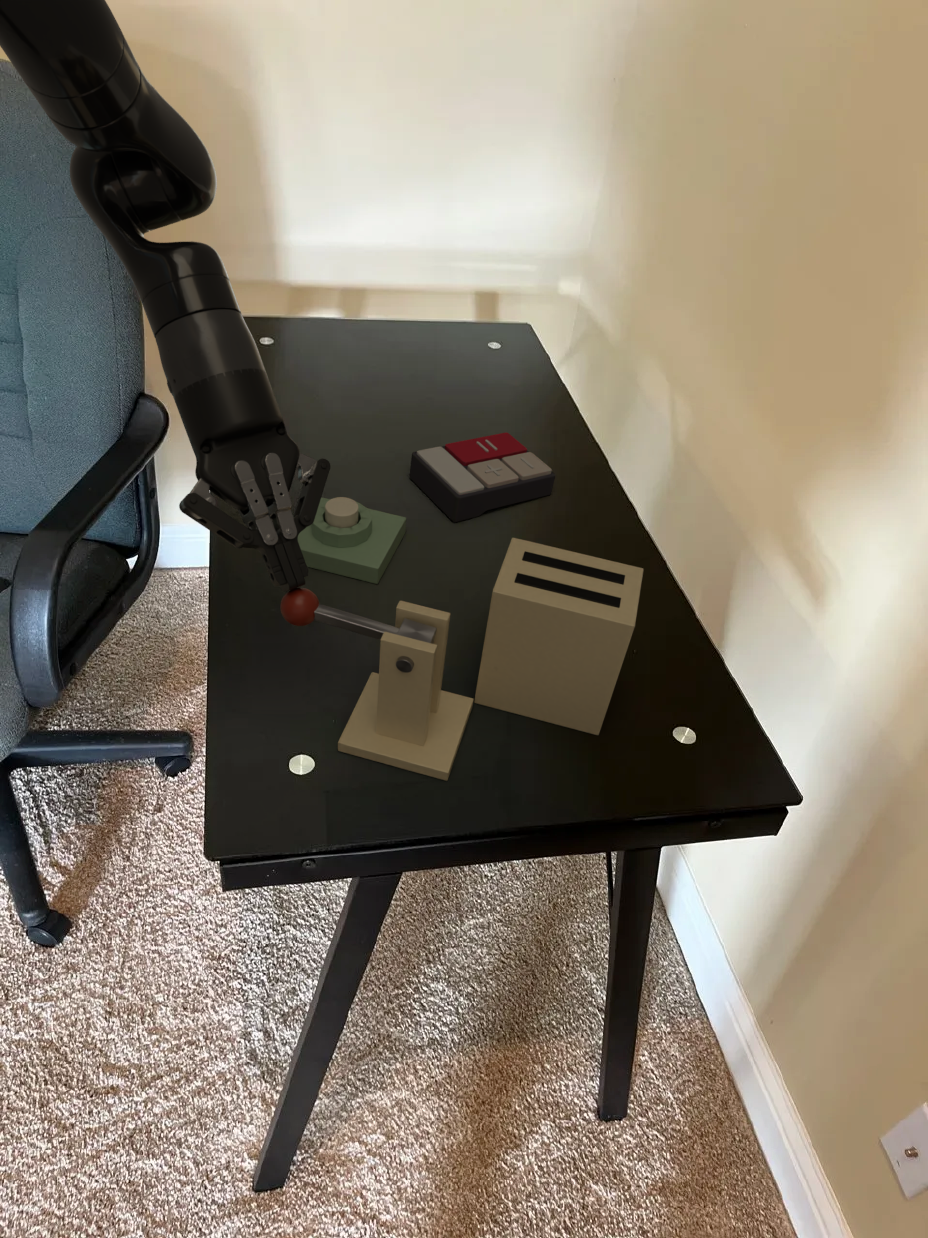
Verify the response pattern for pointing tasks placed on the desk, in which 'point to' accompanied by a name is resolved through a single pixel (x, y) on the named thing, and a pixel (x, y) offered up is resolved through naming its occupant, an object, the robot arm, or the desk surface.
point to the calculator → (480, 475)
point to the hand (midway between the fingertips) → (294, 588)
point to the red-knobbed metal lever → (346, 618)
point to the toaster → (557, 635)
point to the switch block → (353, 543)
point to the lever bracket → (409, 703)
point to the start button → (341, 512)
